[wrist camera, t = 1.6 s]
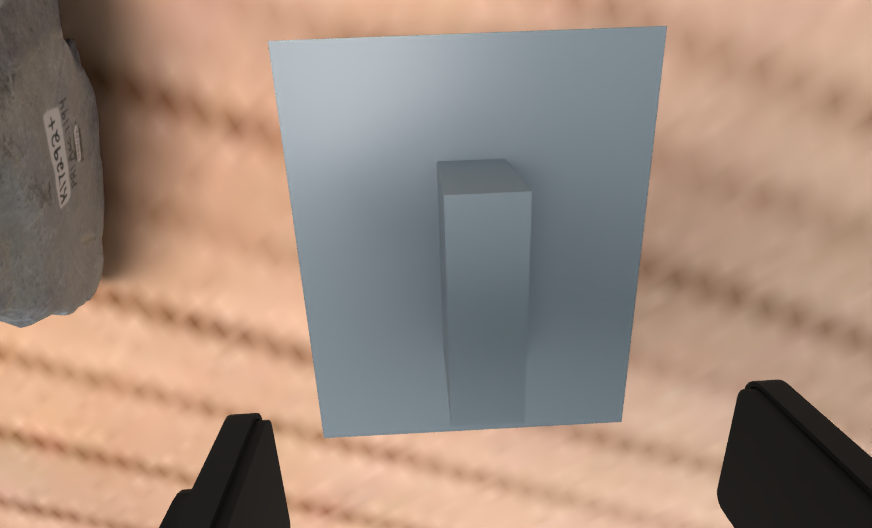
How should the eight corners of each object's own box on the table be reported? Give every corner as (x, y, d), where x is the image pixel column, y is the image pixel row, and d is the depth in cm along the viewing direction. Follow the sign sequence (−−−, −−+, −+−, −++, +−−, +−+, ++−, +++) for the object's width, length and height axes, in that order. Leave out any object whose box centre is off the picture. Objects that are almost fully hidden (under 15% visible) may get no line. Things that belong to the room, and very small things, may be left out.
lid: (608, 398, 26) (670, 508, 20) (329, 412, 26) (302, 530, 19) (645, 27, 20) (753, 16, 14) (280, 42, 20) (216, 37, 13)
